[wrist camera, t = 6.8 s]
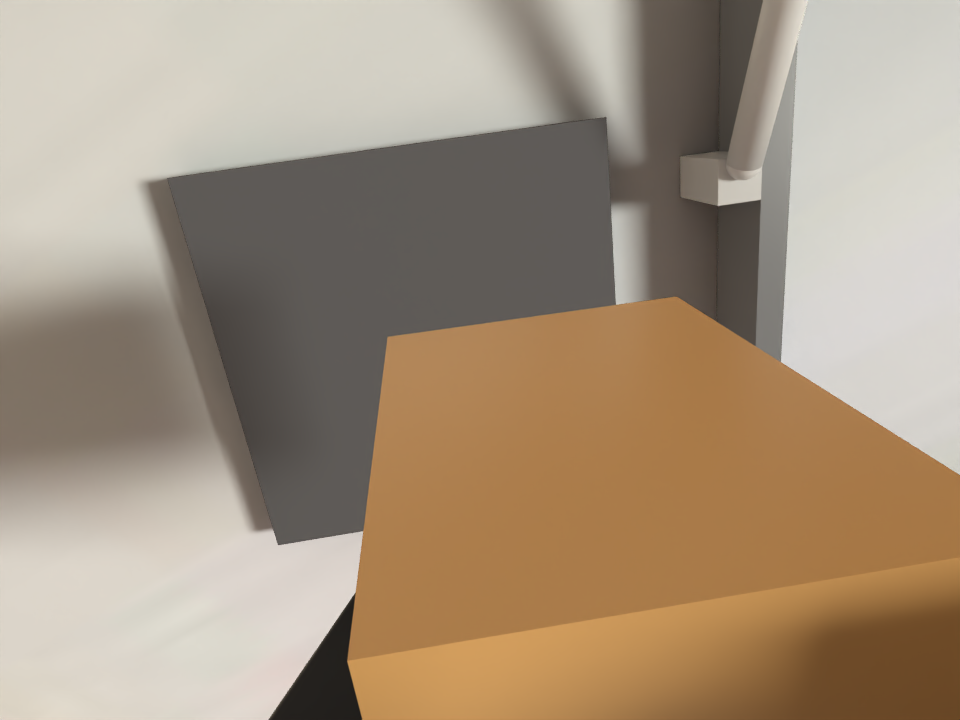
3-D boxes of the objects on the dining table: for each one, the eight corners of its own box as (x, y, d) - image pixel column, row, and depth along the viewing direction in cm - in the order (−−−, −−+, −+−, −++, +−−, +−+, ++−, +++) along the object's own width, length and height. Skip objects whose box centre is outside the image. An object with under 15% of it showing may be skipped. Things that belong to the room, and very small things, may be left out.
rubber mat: (616, 472, 22) (625, 487, 21) (284, 527, 21) (278, 545, 20) (595, 118, 18) (606, 117, 17) (180, 176, 17) (166, 178, 16)
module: (674, 598, 12) (917, 1035, 6) (441, 637, 11) (469, 1130, 6) (676, 296, 9) (1063, 539, 4) (387, 336, 9) (347, 661, 4)
